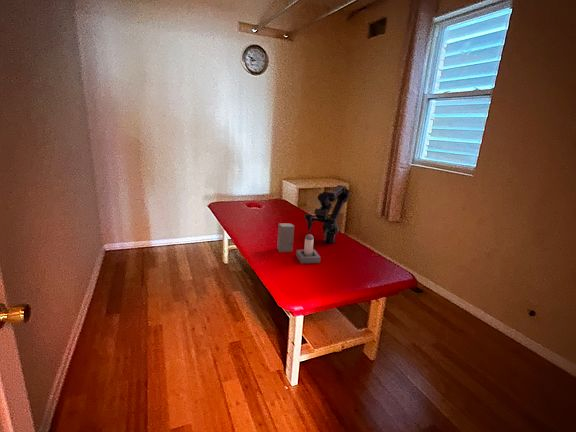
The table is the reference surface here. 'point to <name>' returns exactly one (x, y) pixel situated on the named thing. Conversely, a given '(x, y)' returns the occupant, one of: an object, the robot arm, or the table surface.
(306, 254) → the grey round-top peg
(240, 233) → the table surface
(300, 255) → the jig
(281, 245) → the skincare box
